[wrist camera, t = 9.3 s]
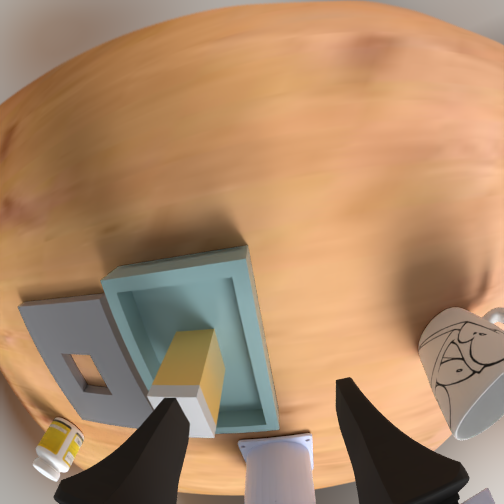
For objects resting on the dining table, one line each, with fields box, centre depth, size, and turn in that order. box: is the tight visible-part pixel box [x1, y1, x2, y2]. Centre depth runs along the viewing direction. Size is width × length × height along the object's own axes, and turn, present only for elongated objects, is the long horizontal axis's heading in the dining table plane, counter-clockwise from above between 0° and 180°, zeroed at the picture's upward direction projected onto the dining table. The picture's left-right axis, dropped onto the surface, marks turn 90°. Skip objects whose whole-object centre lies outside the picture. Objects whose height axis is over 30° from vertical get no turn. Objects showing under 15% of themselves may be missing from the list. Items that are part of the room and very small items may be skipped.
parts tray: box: [101, 245, 279, 434], centre depth 20 cm, size 16×10×3 cm, turn 10°
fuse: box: [147, 329, 225, 438], centre depth 17 cm, size 4×3×7 cm
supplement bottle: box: [33, 417, 84, 481], centre depth 23 cm, size 5×5×10 cm
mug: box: [418, 307, 504, 440], centre depth 16 cm, size 11×8×10 cm
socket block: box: [18, 293, 154, 429], centre depth 22 cm, size 16×12×1 cm
